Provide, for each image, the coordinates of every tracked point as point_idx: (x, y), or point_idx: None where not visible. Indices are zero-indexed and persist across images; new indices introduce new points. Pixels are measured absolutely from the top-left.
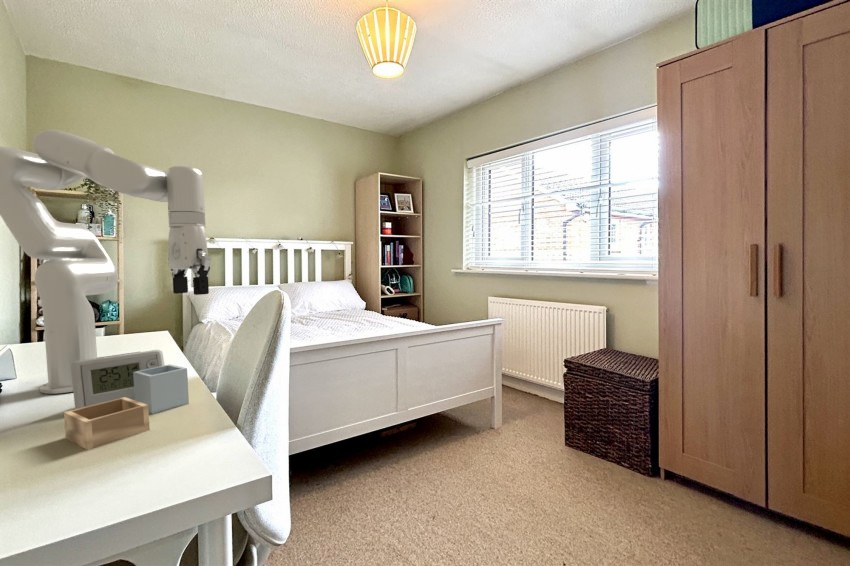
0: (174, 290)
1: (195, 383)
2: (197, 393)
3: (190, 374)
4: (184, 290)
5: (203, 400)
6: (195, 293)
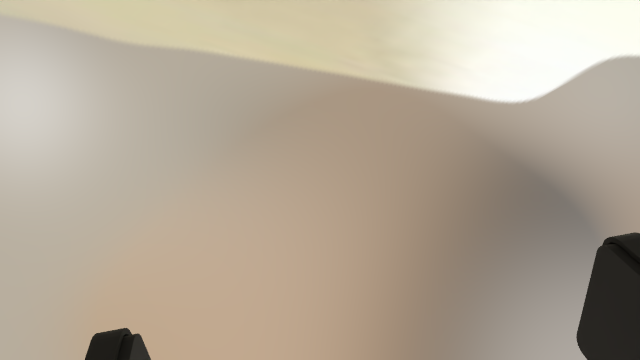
0: (631, 255)
1: (338, 67)
2: (182, 23)
3: (486, 97)
4: (594, 335)
5: (58, 4)
6: (94, 343)
